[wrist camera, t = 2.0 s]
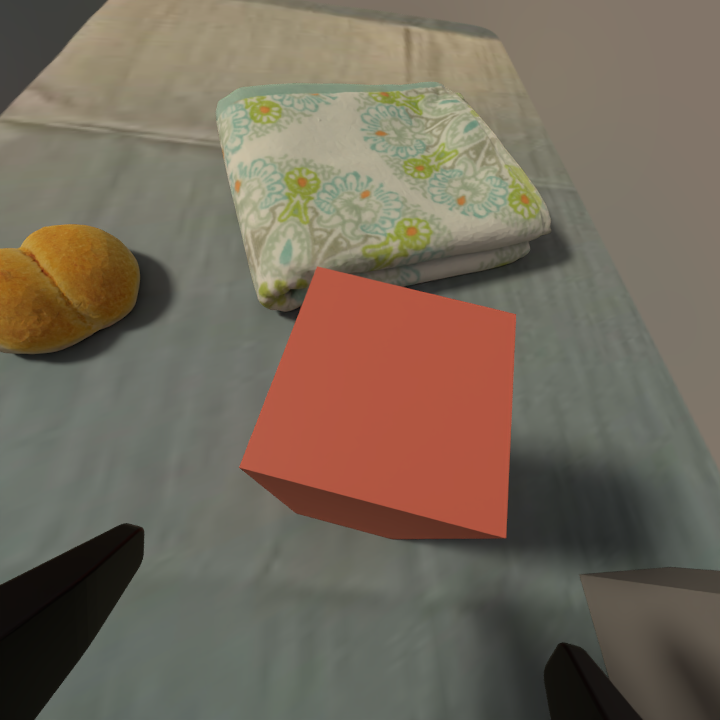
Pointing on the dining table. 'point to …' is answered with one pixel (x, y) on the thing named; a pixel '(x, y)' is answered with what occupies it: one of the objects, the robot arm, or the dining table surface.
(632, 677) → the gray block
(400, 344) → the red block
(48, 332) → the bread roll
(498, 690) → the dining table surface
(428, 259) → the towel
